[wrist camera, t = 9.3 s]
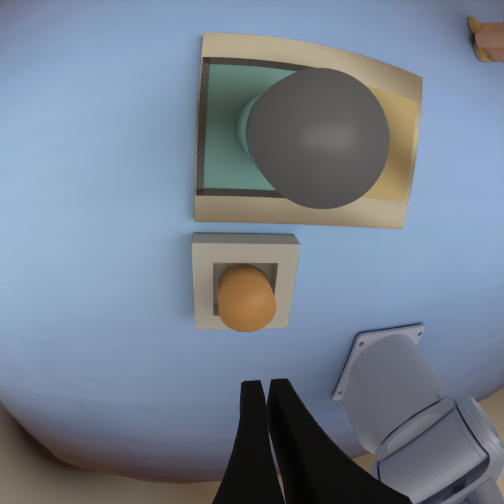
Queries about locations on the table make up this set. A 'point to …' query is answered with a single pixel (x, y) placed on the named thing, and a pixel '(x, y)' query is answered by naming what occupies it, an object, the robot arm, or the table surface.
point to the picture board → (243, 168)
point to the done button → (245, 298)
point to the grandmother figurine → (488, 40)
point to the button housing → (237, 253)
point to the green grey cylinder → (316, 137)
